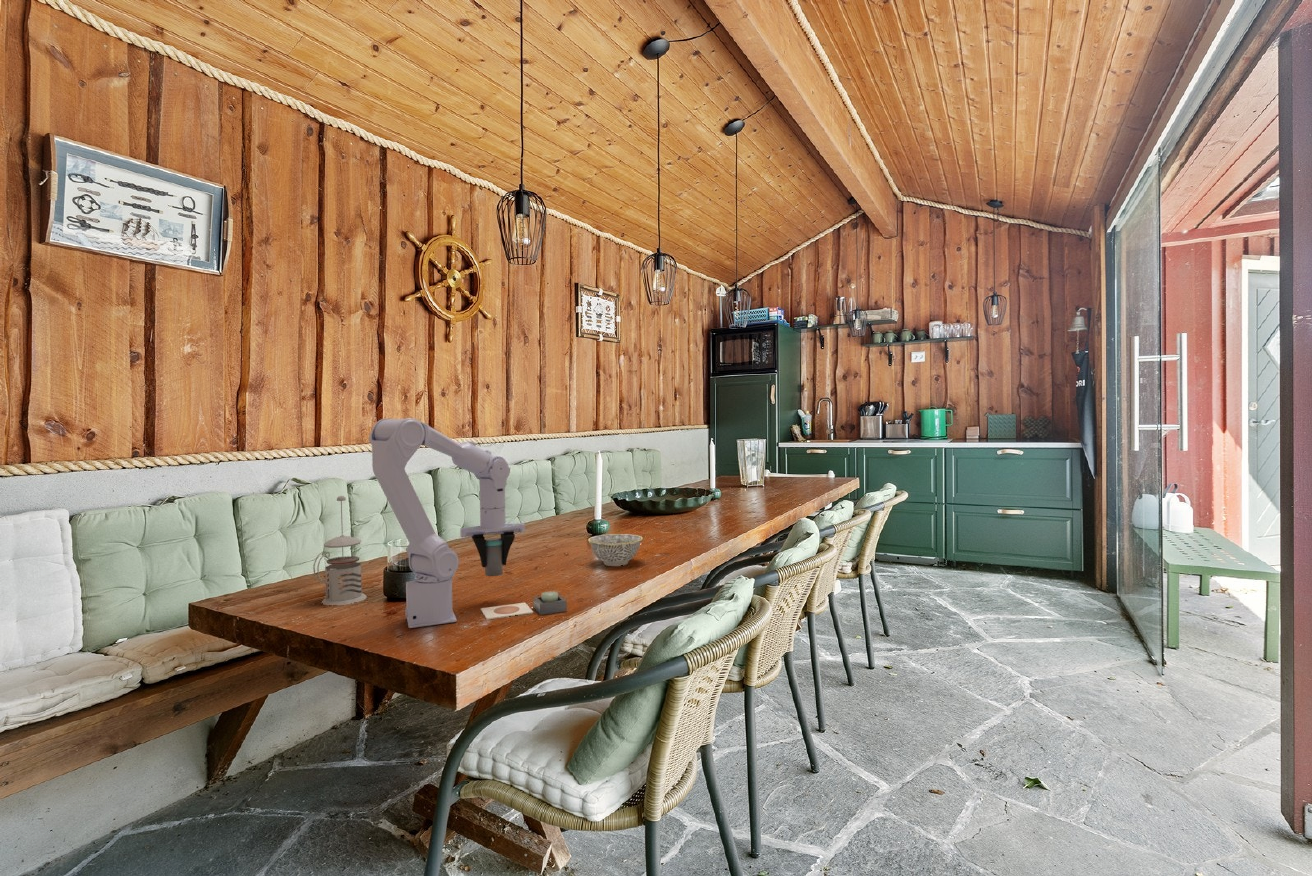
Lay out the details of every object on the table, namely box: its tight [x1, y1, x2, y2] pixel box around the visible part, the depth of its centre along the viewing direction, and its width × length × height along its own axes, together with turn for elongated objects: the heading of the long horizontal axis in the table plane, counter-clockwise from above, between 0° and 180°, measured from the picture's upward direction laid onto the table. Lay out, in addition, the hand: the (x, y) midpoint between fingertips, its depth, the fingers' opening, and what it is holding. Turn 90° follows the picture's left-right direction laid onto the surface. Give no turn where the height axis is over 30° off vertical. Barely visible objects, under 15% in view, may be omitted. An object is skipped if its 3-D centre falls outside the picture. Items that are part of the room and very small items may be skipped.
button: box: [541, 590, 559, 603], centre depth 143 cm, size 4×4×2 cm
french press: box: [312, 495, 367, 607], centre depth 152 cm, size 10×12×25 cm
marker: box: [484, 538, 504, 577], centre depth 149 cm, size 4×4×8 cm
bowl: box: [587, 533, 644, 567], centre depth 187 cm, size 16×16×8 cm
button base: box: [532, 593, 568, 616], centre depth 143 cm, size 6×6×2 cm
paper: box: [480, 602, 534, 621], centre depth 142 cm, size 10×8×1 cm
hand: (493, 565), depth 149 cm, fingers closed on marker, 4 cm apart
